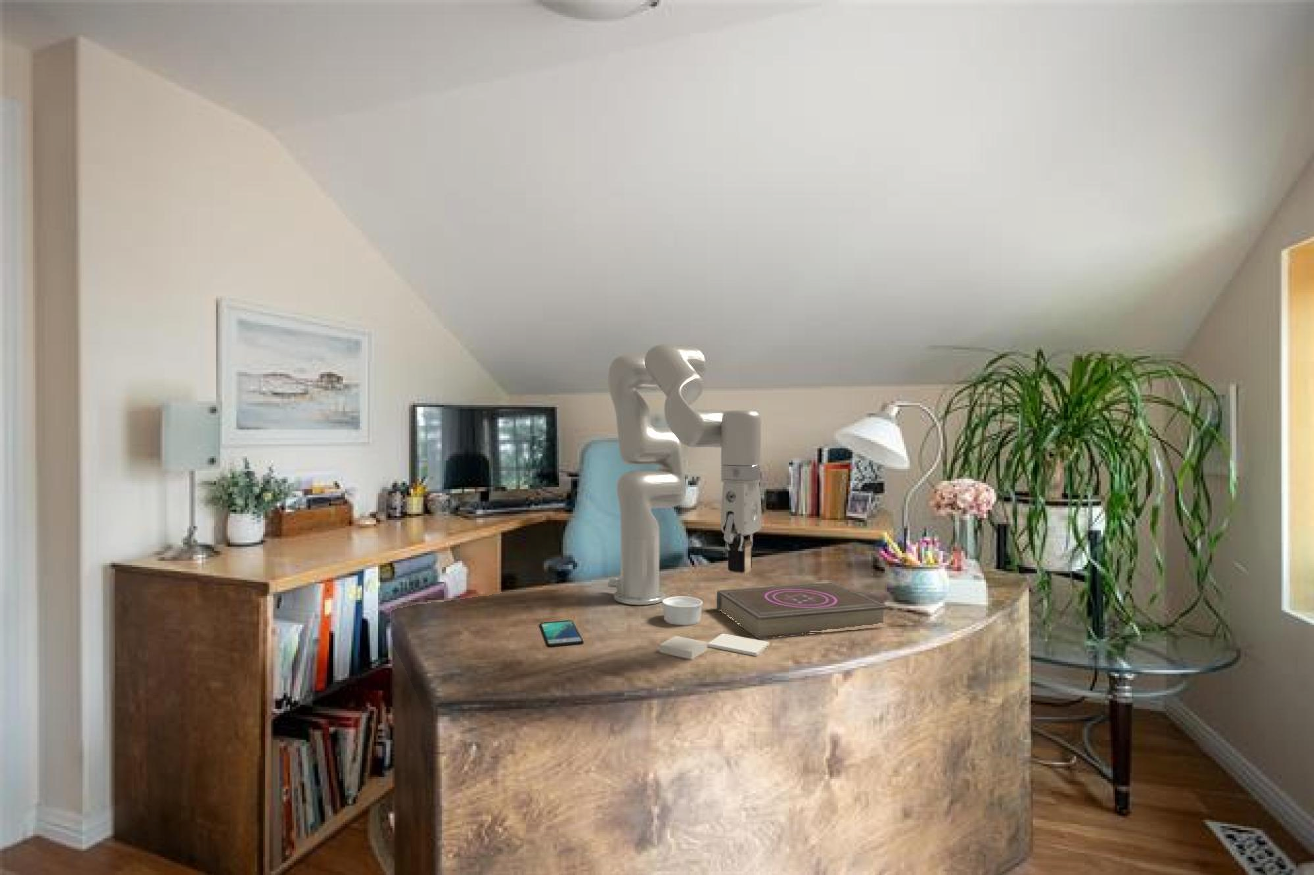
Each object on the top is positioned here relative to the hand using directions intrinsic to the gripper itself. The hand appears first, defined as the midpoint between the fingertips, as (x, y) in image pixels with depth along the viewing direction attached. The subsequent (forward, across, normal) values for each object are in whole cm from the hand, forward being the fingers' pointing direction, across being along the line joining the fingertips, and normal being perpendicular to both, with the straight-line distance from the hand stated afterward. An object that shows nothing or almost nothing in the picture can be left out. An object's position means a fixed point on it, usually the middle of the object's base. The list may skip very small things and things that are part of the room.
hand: (740, 568), depth 123 cm
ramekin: (+15, +9, +17) cm, 25 cm away
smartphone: (+15, -12, +34) cm, 39 cm away
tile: (+14, -8, +12) cm, 20 cm away
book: (+16, +24, -4) cm, 29 cm away
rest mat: (+15, 0, 0) cm, 15 cm away
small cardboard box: (0, 0, 0) cm, 1 cm away
